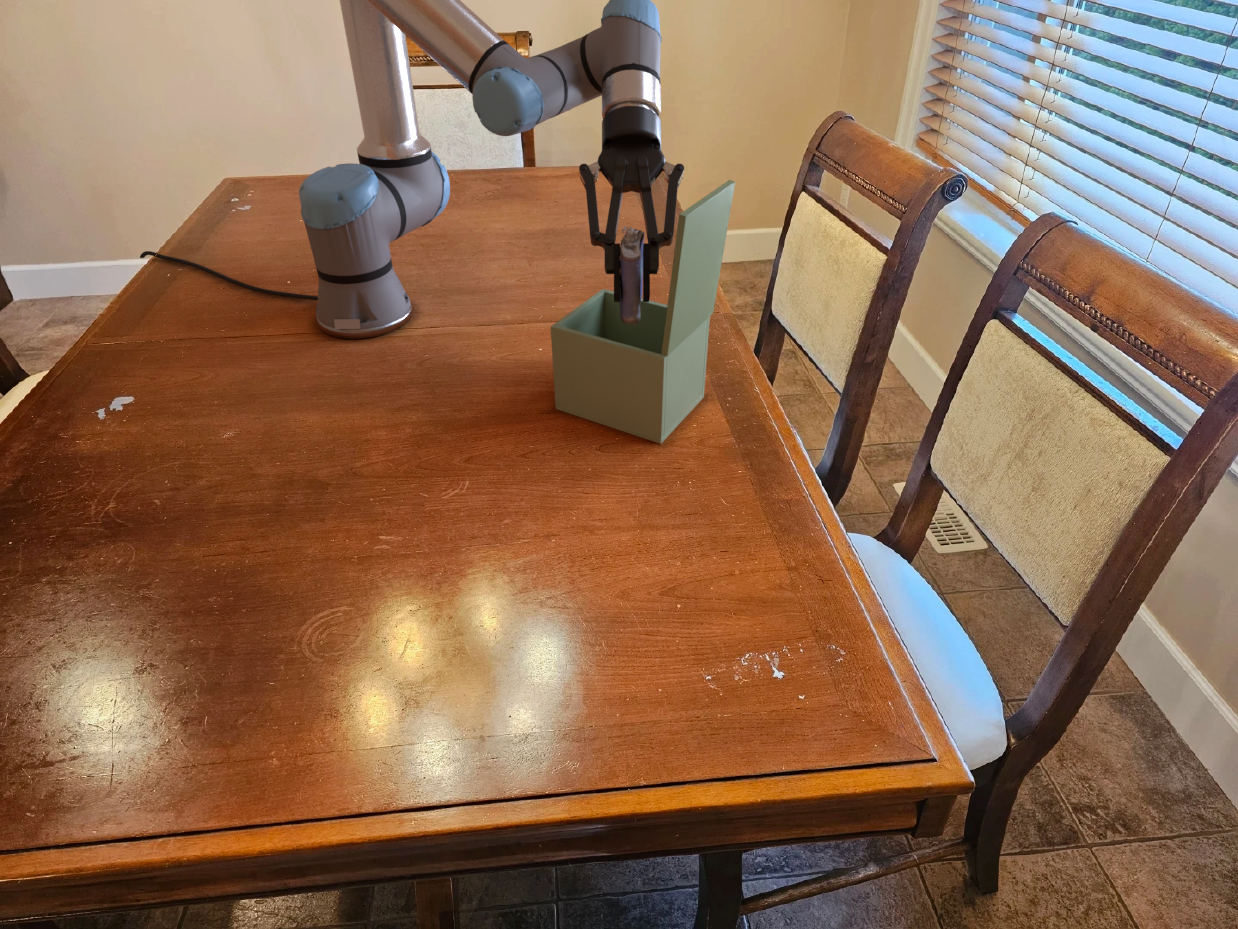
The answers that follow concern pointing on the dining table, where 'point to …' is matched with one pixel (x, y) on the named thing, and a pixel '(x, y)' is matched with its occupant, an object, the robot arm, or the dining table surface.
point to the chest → (626, 368)
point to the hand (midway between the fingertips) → (631, 297)
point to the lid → (697, 265)
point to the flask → (631, 275)
